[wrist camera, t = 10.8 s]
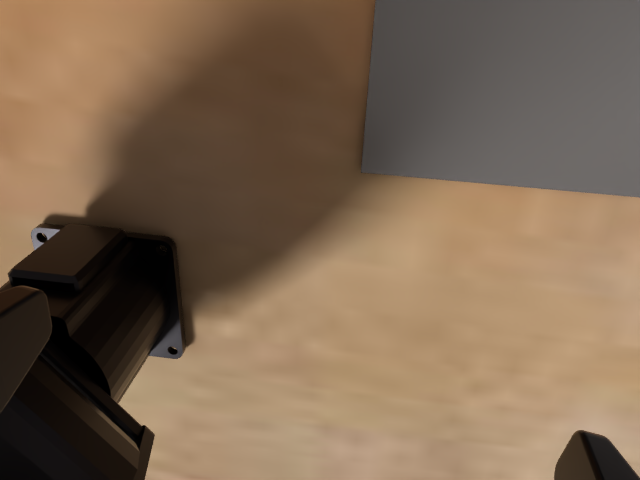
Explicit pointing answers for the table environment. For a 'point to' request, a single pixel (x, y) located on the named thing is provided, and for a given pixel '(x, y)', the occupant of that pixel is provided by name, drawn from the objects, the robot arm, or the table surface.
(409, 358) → the table surface
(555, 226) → the table surface
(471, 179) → the mat
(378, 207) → the table surface
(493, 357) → the table surface
